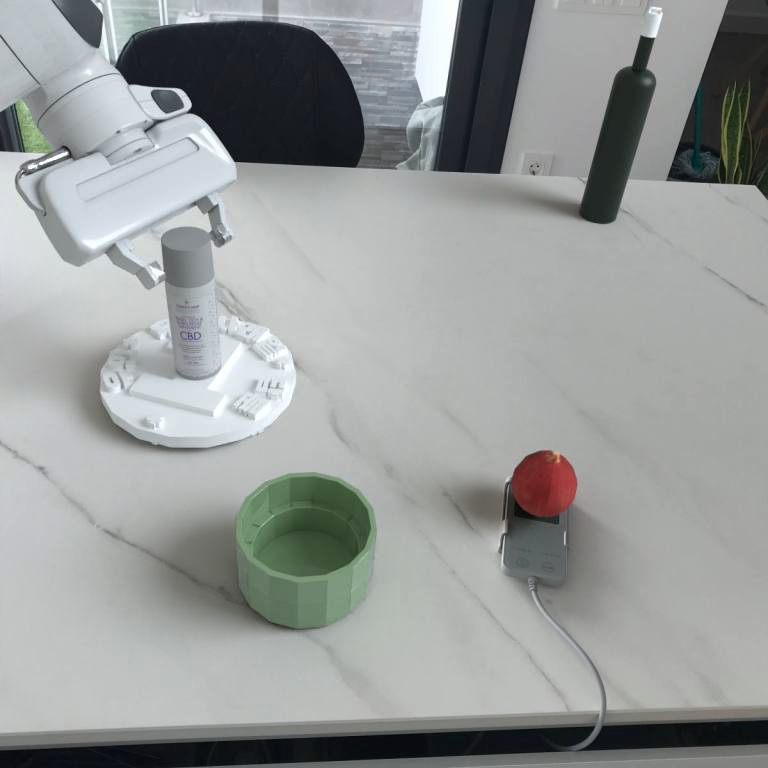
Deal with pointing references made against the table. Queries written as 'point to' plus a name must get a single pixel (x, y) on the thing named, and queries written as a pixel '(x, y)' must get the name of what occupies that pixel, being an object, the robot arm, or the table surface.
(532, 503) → the onion
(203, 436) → the giant coin
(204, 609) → the table surface
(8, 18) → the robot arm
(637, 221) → the table surface
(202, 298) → the container
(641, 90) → the wine bottle
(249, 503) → the green faceted pot
